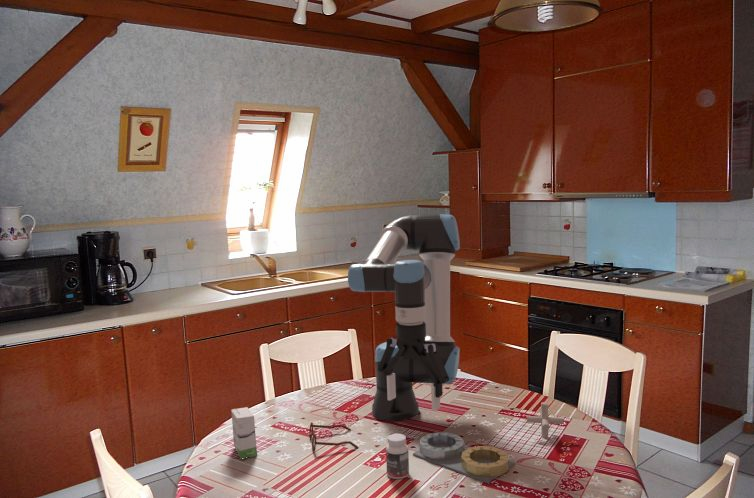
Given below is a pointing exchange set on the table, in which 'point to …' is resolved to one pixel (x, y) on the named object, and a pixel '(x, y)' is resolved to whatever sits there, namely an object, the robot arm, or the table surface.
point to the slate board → (456, 463)
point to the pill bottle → (397, 456)
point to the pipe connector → (544, 419)
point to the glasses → (325, 442)
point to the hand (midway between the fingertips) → (413, 404)
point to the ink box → (244, 432)
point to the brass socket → (484, 468)
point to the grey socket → (441, 453)
